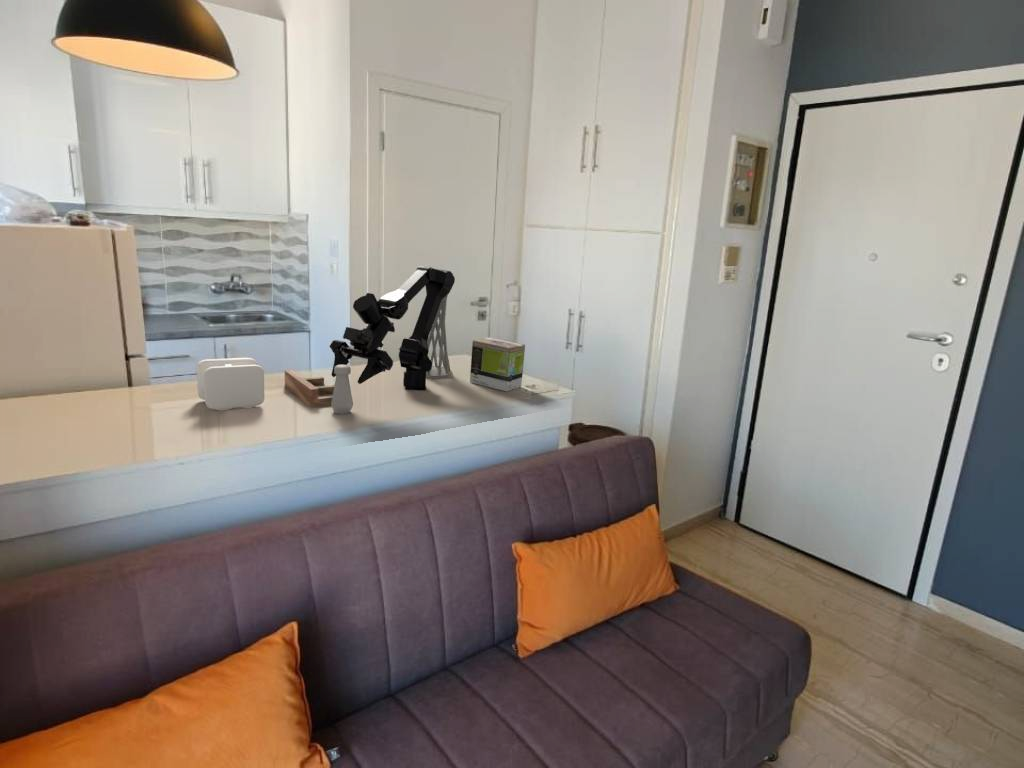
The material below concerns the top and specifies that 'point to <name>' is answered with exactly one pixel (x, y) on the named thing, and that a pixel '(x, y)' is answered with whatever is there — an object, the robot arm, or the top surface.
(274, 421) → the top surface
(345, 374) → the salt shaker
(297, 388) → the wooden letter e
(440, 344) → the grey lattice tower
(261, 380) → the cable organizer
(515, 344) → the tea box
